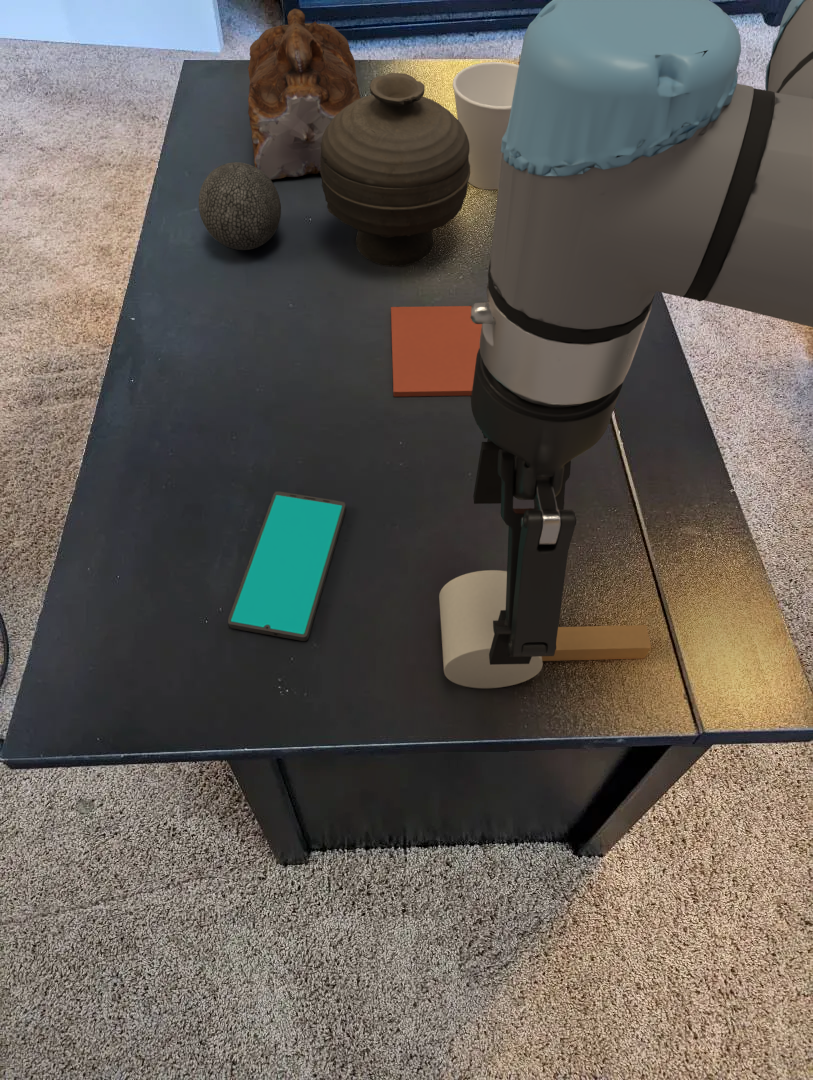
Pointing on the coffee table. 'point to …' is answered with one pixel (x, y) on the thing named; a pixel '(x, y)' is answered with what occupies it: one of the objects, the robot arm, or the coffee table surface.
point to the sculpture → (297, 93)
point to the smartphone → (288, 566)
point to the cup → (485, 116)
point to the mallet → (471, 635)
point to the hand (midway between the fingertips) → (499, 574)
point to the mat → (434, 350)
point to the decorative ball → (239, 206)
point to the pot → (395, 169)
